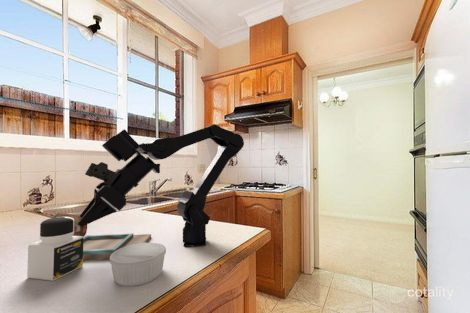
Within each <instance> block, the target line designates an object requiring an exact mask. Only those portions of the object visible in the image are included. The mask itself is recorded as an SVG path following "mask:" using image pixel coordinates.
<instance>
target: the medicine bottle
mask: <svg viewBox="0 0 470 313" xmlns="http://www.w3.org/2000/svg"><path fill="white" fill-rule="evenodd" d="M39 224H40V226H39V228H40V229H39V241H35V242H32V243H30V244H28V245H27V273H26V274H27V275H26V277H27V278H28V279H34V280H43V281H50V282H53V281H57V280H59V279H60V278H63V277H64V276H67V275H68V274H70V273H73V272H75V271H76V270H78V269H80V268H82V267H83V265H84V260H83V238H84V237H85V236H84V237H83V236H72V235H73V234H74V219H73V218H71V217H56V218H54V217H51V218H47V219H45V220H43V221H41V223H39Z"/></svg>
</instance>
